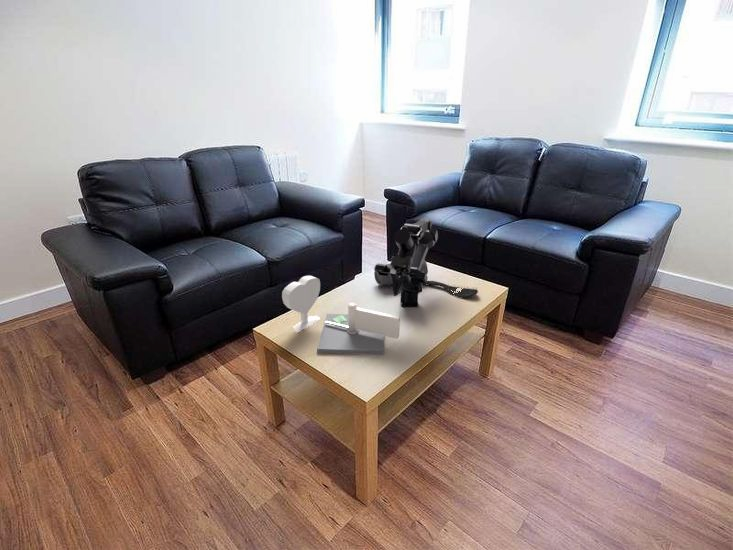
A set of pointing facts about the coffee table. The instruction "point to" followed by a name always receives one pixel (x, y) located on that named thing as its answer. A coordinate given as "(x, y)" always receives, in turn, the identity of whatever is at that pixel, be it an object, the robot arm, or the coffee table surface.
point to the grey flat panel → (347, 338)
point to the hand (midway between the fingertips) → (394, 295)
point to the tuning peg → (371, 321)
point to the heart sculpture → (302, 299)
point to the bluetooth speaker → (387, 280)
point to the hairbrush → (464, 292)
